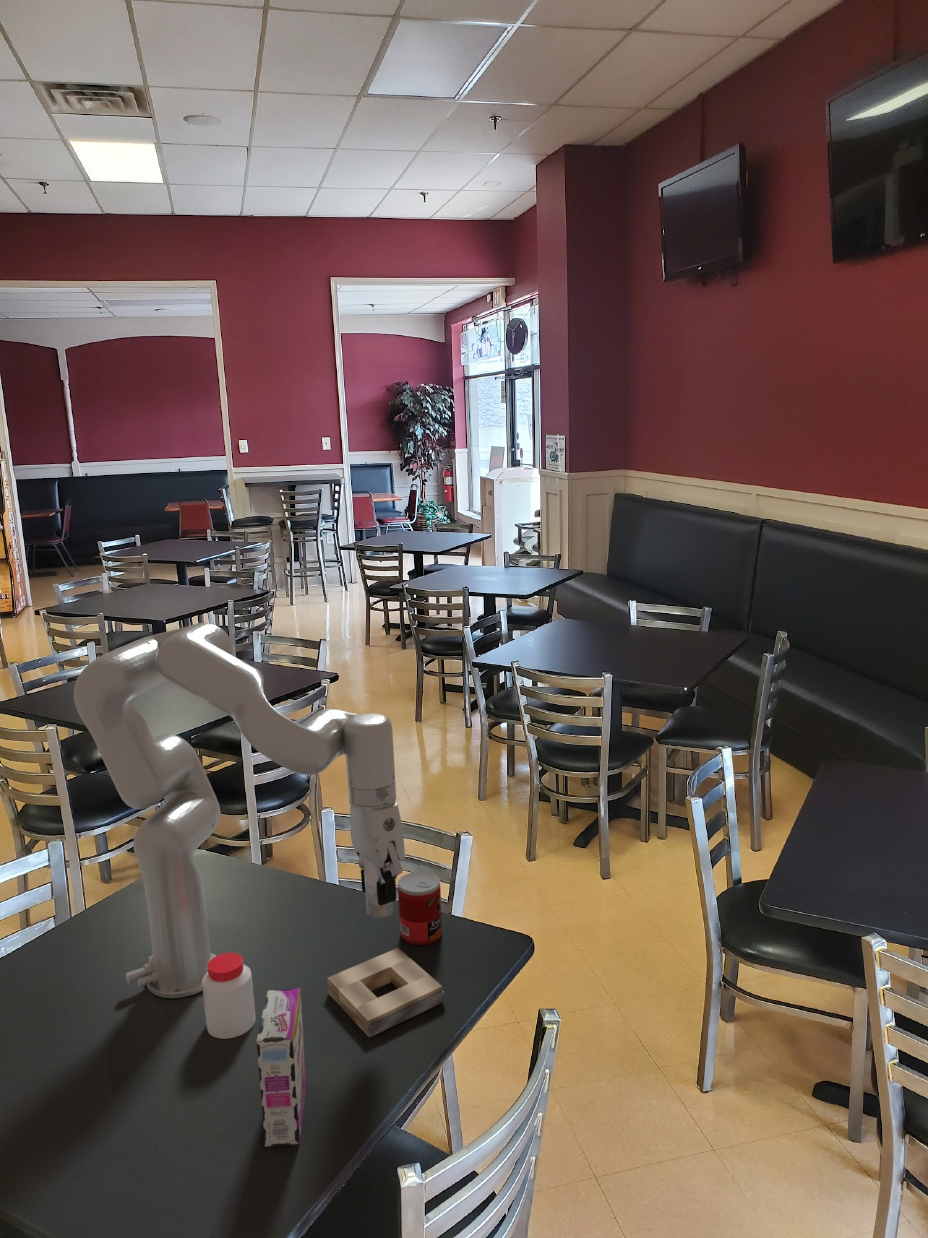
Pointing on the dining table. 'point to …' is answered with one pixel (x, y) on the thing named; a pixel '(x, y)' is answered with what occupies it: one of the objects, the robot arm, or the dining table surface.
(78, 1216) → the dining table surface
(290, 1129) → the candy bar box
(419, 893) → the canned food
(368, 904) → the frosted glass cylinder
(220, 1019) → the pill bottle
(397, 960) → the frame
